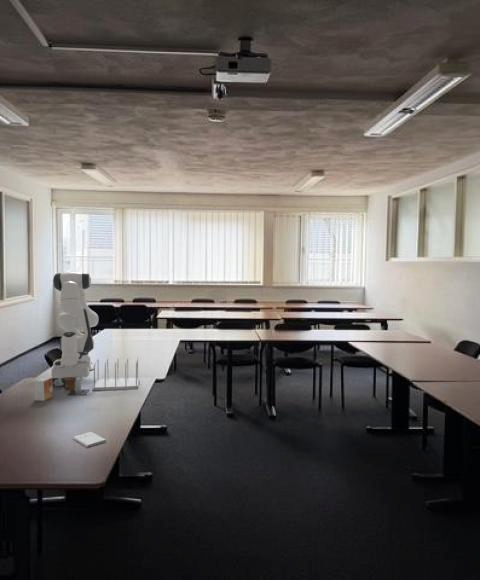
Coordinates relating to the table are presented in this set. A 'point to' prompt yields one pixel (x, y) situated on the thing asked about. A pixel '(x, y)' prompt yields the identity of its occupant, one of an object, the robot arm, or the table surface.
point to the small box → (43, 389)
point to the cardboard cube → (70, 383)
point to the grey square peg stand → (78, 390)
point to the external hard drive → (89, 439)
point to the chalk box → (57, 382)
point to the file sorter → (116, 383)
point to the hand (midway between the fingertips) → (70, 385)
